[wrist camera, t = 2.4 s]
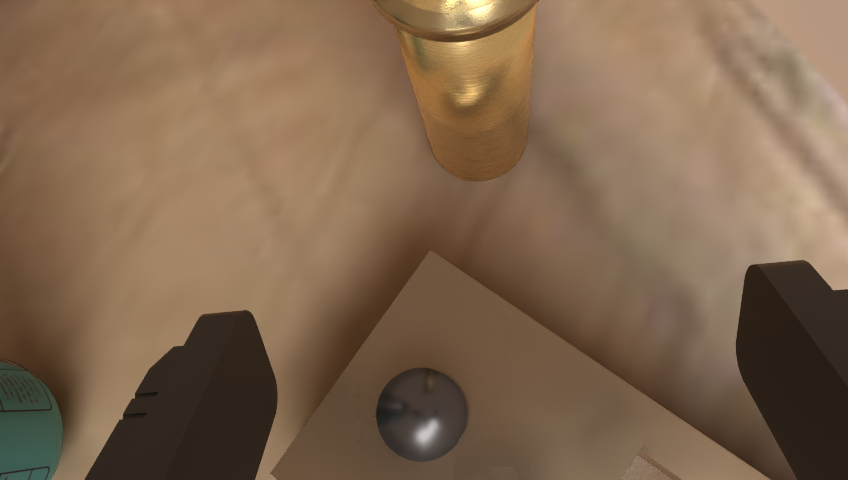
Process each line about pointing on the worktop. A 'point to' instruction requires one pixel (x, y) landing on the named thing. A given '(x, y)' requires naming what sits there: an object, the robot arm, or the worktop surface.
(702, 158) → the worktop surface
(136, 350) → the worktop surface
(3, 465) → the beverage bottle
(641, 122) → the worktop surface
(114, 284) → the worktop surface
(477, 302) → the metal socket block
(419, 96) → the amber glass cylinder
